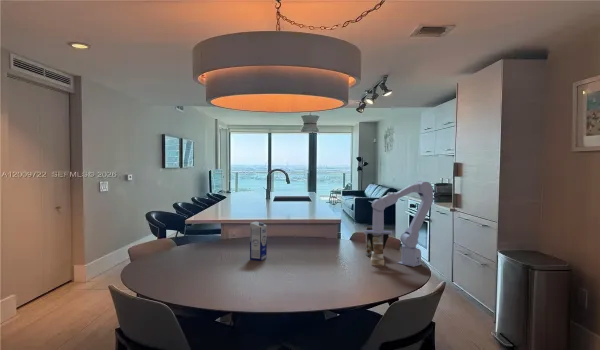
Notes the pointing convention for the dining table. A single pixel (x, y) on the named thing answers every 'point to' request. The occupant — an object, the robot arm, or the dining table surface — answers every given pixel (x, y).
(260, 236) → the milk carton
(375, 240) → the coffee box
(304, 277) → the dining table surface
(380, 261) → the base block
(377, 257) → the top block
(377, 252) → the walnut block
